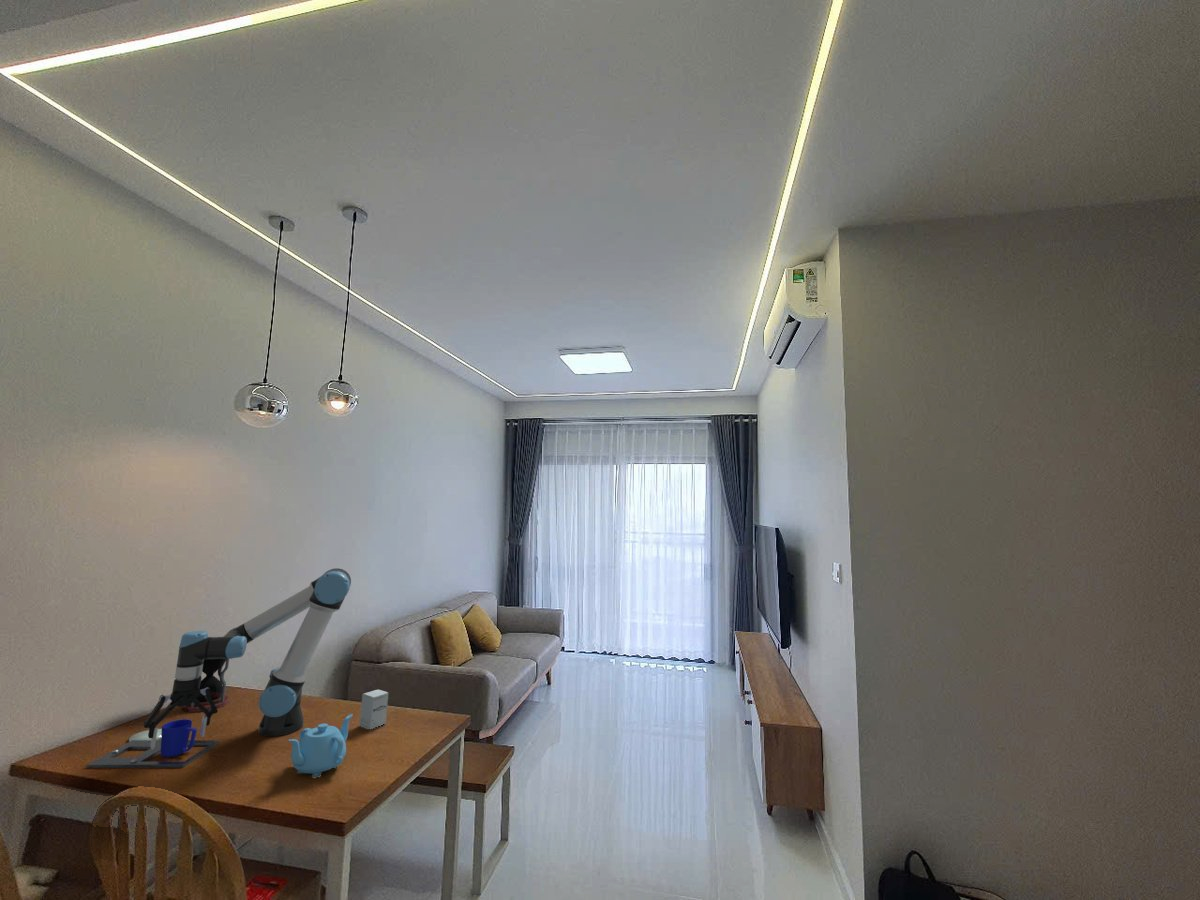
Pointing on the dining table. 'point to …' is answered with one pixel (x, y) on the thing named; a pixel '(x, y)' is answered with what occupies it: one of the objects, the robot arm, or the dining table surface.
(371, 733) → the dining table surface
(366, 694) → the supplement box
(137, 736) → the pale grey rounded piece
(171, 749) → the mug
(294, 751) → the teapot
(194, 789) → the dining table surface
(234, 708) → the dining table surface
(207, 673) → the hourglass
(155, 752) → the gray cutout board
